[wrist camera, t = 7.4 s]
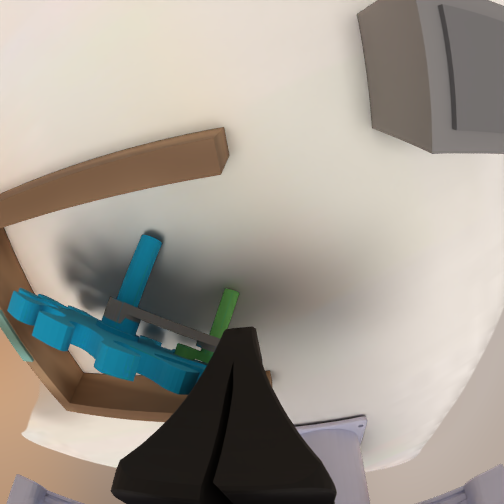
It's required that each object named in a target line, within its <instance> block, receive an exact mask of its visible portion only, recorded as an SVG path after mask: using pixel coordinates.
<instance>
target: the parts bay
mask: <svg viewBox="0 0 504 504" xmlns="http://www.w3.org/2000/svg"><path fill="white" fill-rule="evenodd" d="M228 157H229V151H228V146H227V141H226V135H225V130H224V127H222V128H216V129H211V130H206V131H201V132H196V133H191V134H186V135H182V136H177V137H173V138H168V139H164V140H160V141H156V142H152V143H148V144H144V145H140V146H136V147H132V148H129V149H125V150H122V151H118V152H115V153H111V154H108V155H105V156H101V157H98V158H95V159H92V160H88V161H85V162H82V163H79V164H76V165H73V166H70V167H68V168H65V169H62V170H59V171H56V172H54V173H51V174H48V175H45V176H43V177H40V178H38V179H35V180H32V181H30V182H27V183H25V184H23V185H20V186H18V187H15V188H13V189H11V190H8V191H6V192H4V193H1V194H0V327H1V329H2V330H3V332H4V333H5V335H6V336H7V338H8V339H9V341H10V342H11V344H12V345H13V347H14V348H15V350H16V351H17V352H18V354H19V355H20V356H21V358H22V359H23V361H26V362H27V363H28V365H29V366H30V367H31V369H32V370H33V371H34V373H35V374H36V375H37V376H38V378H39V379H40V380H41V381H42V383H43V384H44V385H45V386H46V387H47V389H48V390H49V391H50V392H51V393H52V395H53V396H54V397H55V398H56V399H57V400H58V402H59V403H60V404H61V405H62V406H63V407H64V408H65V409H66V410H67V411H71V412H77V413H83V414H90V415H96V416H104V417H112V418H120V419H130V420H141V421H155V422H166V421H167V420H168V419H169V418H170V417H171V415H172V414H173V413H174V412H175V411H176V410H177V409H178V407H179V406H180V405H181V404H182V402H183V401H184V400H185V398H186V397H187V396H188V395H180V394H176V393H173V392H171V391H168V390H166V389H164V388H163V387H161V386H160V385H158V384H157V383H155V382H154V381H152V380H150V379H149V378H147V377H145V376H135V378H134V381H128V380H124V379H120V378H116V377H113V376H110V375H105V374H89V373H83V372H82V370H81V369H80V367H79V366H78V365H77V363H76V362H75V360H74V359H73V357H72V356H71V354H70V353H69V351H60V350H58V349H56V348H53V347H51V346H49V345H47V344H46V343H44V342H42V341H40V340H39V339H37V338H35V337H34V336H32V333H33V329H34V326H35V325H34V326H32V325H28V324H25V323H23V322H20V321H19V320H17V319H16V318H14V317H13V316H12V315H11V314H10V313H9V312H8V311H7V310H8V307H9V303H10V300H11V297H12V294H13V291H17V292H18V291H19V288H23V289H25V290H27V291H29V292H31V293H33V291H32V289H31V287H30V285H29V283H28V281H27V279H26V277H25V275H24V273H23V271H22V269H21V267H20V265H19V263H18V260H17V258H16V256H15V254H14V251H13V249H12V247H11V245H10V242H9V240H8V237H7V235H6V233H5V230H4V228H3V227H6V226H9V225H12V224H15V223H18V222H21V221H24V220H28V219H31V218H34V217H38V216H41V215H44V214H48V213H51V212H55V211H58V210H62V209H65V208H69V207H73V206H77V205H80V204H84V203H88V202H92V201H96V200H100V199H104V198H108V197H112V196H116V195H121V194H125V193H129V192H134V191H138V190H143V189H148V188H152V187H157V186H162V185H167V184H172V183H177V182H182V181H188V180H193V179H198V178H204V177H210V176H216V175H221V173H222V171H223V169H224V166H225V164H226V162H227V160H228ZM33 294H34V293H33ZM265 372H266V375H267V377H268V380H269V382H270V384H271V386H272V378H271V373H270V371H265Z"/></svg>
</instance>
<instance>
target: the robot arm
mask: <svg viewBox="0 0 504 504" xmlns="http://www.w3.org/2000/svg"><path fill="white" fill-rule="evenodd" d="M366 424H367V418H366V417H357V418H352V419H346V420H341V421H335V422H328V423H321V424H314V425H306V426H298V427H295V426H294V425H293V423H292V422H291V420H290V419H289V417H288V416H287V414H286V412H285V411H284V409H283V407H282V406H281V404H280V402H279V400H278V398H277V396H276V394H275V392H274V390H273V388H272V386H271V384H270V382H269V380H268V377H267V375H266V372H265V370H264V367H263V364H262V356H261V352H260V347H259V342H258V337H257V332H256V328H254V327H243V328H232V329H226V330H225V331H224V332H223V334H222V337H221V339H220V341H219V343H218V345H217V347H216V349H215V351H214V353H213V355H212V357H211V359H210V361H209V363H208V364H207V366H206V368H205V370H204V372H203V373H202V375H201V376H200V378H199V379H198V381H197V383H196V384H195V386H194V387H193V389H192V390H191V392H190V393H189V394H188V396H187V397H186V398H185V400H184V401H183V402H182V404H181V405H180V406H179V407H178V409H177V410H176V411H175V412H174V413H173V414H172V415H171V417H170V418H169V419H168V420H167V421H166V422H165V423H164V424H163V425H162V426H161V427H160V428H159V429H158V430H157V431H156V432H155V433H154V434H153V435H152V436H150V437H149V438H148V439H147V440H146V441H145V442H144V443H143V444H141V445H140V446H139V447H138V448H136V449H135V450H134V451H132V452H131V453H130V454H128V455H127V456H125V457H124V458H123V459H121V460H120V462H119V465H118V467H117V469H116V473H115V477H114V480H113V485H112V488H111V492H112V494H113V495H114V496H115V497H116V498H118V499H119V500H121V501H123V502H124V503H126V504H370V500H369V494H368V488H367V482H366V476H365V471H364V465H363V460H362V454H361V449H360V445H361V442H362V438H363V435H364V431H365V428H366ZM7 504H84V503H81V502H78V501H75V500H72V499H69V498H66V497H64V496H61V495H58V494H56V493H53V492H50V491H48V490H46V489H45V488H44V487H43V486H41V485H39V484H38V483H36V482H34V481H32V480H30V479H28V478H25V477H23V476H21V475H19V474H17V475H16V477H15V480H14V483H13V486H12V489H11V491H10V495H9V498H8V501H7ZM417 504H504V467H503V465H502V464H499V465H497V466H495V467H493V468H491V469H489V470H487V471H485V472H483V473H481V474H479V475H477V476H476V477H474V478H472V479H470V480H469V481H468V482H467V483H465V485H464V486H461V487H459V488H457V489H454V490H452V491H450V492H447V493H445V494H442V495H439V496H436V497H434V498H431V499H428V500H425V501H423V502H419V503H417Z"/></svg>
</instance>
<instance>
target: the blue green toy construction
mask: <svg viewBox="0 0 504 504" xmlns="http://www.w3.org/2000/svg"><path fill="white" fill-rule="evenodd" d="M161 245H162V243H161V242H160V241H159V240H157V239H155V238H153V237H151V236H148V235H142V236H141V238H140V241H139V243H138V245H137V248H136V250H135V253H134V255H133V257H132V260H131V262H130V265H129V267H128V270H127V273H126V275H125V278H124V280H123V283H122V286H121V288H120V291H119V294H118V296H117V299H115V298H112V297H110V298H109V301H108V304H107V307H106V309H105V312H104V315H103V318H102V321H101V320H98V319H96V318H94V317H93V316H91V315H89V314H88V313H86V312H84V311H82V310H80V309H77V308H75V307H72V306H69V305H68V307H66V306H64V305H62V304H60V303H59V302H57V301H55V300H53V299H51V298H49V297H47V296H44V295H41V294H38V296H37V295H35V294H33V293H31V292H29V291H27V290H25V289H23V288H19V291H18V292H17V291H13V294H12V297H11V300H10V303H9V307H8V310H7V311H8V312H9V313H10V314H11V315H12V316H13V317H14V318H16V319H17V320H19V321H20V322H23V323H25V324H28V325H32V326H34V325H35V326H34V329H33V333H32V336H34V337H35V338H37V339H39V340H40V341H42V342H44V343H46V344H47V345H49V346H51V347H53V348H56V349H58V350H60V351H68V349H69V345H70V344H72V345H75V346H77V347H80V348H82V349H83V350H85V351H87V352H88V353H89V354H90V355H92V356H93V357H94V358H95V359H96V360H95V363H94V367H95V368H96V369H97V370H98V371H100V372H101V373H104V374H107V375H110V376H113V377H116V378H120V379H124V380H128V381H134V378H135V375H136V372H137V373H139V374H141V375H143V376H145V377H147V378H149V379H150V380H152V381H154V382H155V383H157V384H158V385H160V386H161V387H163V388H164V389H166V390H168V391H171V392H173V393H176V394H180V395H188V394H189V393H190V392H191V390H192V389H193V387H194V386H195V384H196V383H197V381H198V379H199V378H200V376H201V375H202V373H203V372H204V370H205V368H206V366H207V364H208V363H209V361H210V359H211V357H212V355H213V353H214V351H215V349H216V347H217V345H218V343H219V341H220V339H221V337H222V334H223V332H224V331H225V330H226V329H228V326H229V323H230V320H231V317H232V314H233V311H234V308H235V305H236V302H237V299H238V296H239V293H238V292H236V291H234V290H231V289H226V288H225V290H224V293H223V296H222V299H221V302H220V304H219V307H218V310H217V313H216V316H215V319H214V322H213V325H212V328H211V331H210V334H209V335H208V334H205V333H203V332H200V331H197V330H194V329H191V328H189V327H186V326H183V325H180V324H178V323H175V322H172V321H170V320H167V319H164V318H162V317H159V316H157V315H154V314H151V313H149V312H146V311H144V310H141V309H139V308H138V305H139V302H140V299H141V297H142V294H143V291H144V289H145V286H146V283H147V281H148V278H149V275H150V273H151V270H152V268H153V265H154V263H155V260H156V257H157V255H158V252H159V250H160V248H161ZM140 320H143V321H146V322H148V323H151V324H154V325H156V326H159V327H161V328H164V329H167V330H170V331H172V332H175V333H178V334H181V335H183V336H186V337H189V338H192V339H195V340H197V343H196V346H198V347H200V348H202V349H201V351H199V350H196V349H194V348H191V347H188V346H185V345H182V344H179V343H178V344H177V347H176V349H173V350H169V349H166V348H163V347H161V344H162V343H161V342H158V341H156V340H153V339H150V338H148V337H145V336H142V335H141V336H140V337H139V336H137V335H136V332H137V329H138V326H139V323H140ZM195 359H197V360H195ZM198 360H200V361H198Z"/></svg>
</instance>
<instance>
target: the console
mask: <svg viewBox="0 0 504 504" xmlns="http://www.w3.org/2000/svg"><path fill="white" fill-rule="evenodd" d="M357 16H358V21H359V26H360V32H361V38H362V44H363V50H364V56H365V63H366V71H367V78H368V87H369V96H370V106H371V117H372V128H374V129H376V130H379V131H381V132H384V133H386V134H389V135H391V136H394V137H396V138H398V139H401V140H403V141H405V142H408V143H410V144H412V145H415V146H417V147H419V148H421V149H423V150H426V151H428V152H430V153H432V154H439V153H490V154H504V6H502V5H500V4H497V3H494V2H492V1H489V0H377V1H376V2H374V3H373V4H371V5H370V6H368V7H367V8H365V9H364V10H362V11H361V12H359V13H358V14H357Z"/></svg>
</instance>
